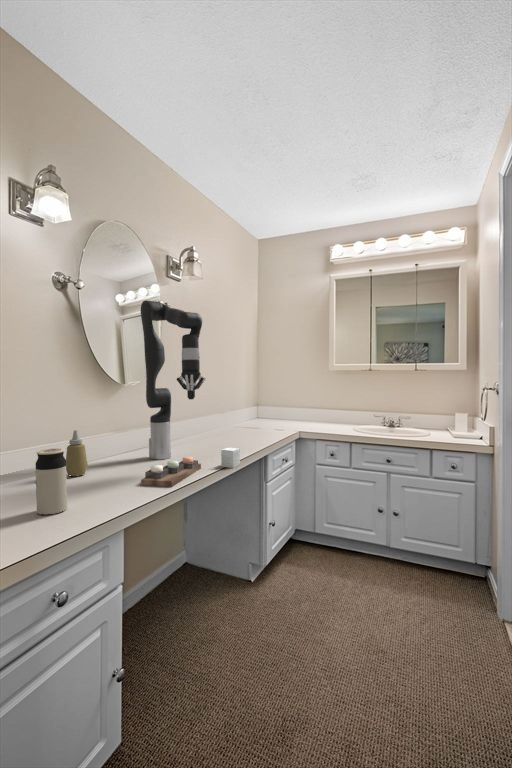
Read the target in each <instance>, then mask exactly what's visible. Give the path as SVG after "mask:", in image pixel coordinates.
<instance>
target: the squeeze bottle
mask: <svg viewBox="0 0 512 768" xmlns="http://www.w3.org/2000/svg"><path fill="white" fill-rule="evenodd" d="M78 432H79V431H78V430H76V429H75V430H73V435H72V438H71V439H69V443H68V444H69V445H67V447H66V452H65V453H66V455H65V459H66V474H67V476H69V475H71V476H77V475H82V476H84V475H85V474H86V473H87V472H86V471H87V468H88V461H87V452H86V451H87V450H86V445H85V444H83V439H82V438H80V436H79V433H78ZM83 474H84V475H83Z"/></svg>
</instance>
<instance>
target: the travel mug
mask: <svg viewBox="0 0 512 768" xmlns="http://www.w3.org/2000/svg"><path fill="white" fill-rule="evenodd" d="M65 451H66V450H65V448H62V447H55V448H52V447H51V448H44V449H40V450H37V451H36V452H35V453H36V455H37V459H36V461H35V489H36V490H35V492H36V494H35V495H36V497H35V498H36V513H37V514H38V513H39V514H38V515H41V514H53V515H56V514H55V513H58V514H60V513H59V512H61V513H63V512H65V511H66V510H67V509H68V485H67V484H68V483H67V482H68V481H67V470H66V457H65V456H64V453H65ZM62 511H63V512H62Z"/></svg>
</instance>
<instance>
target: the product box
mask: <svg viewBox="0 0 512 768" xmlns="http://www.w3.org/2000/svg"><path fill="white" fill-rule="evenodd" d="M240 449H241V448H238V447H225V448H223V449H221V451H220V453H221V458H220V459H221V462H220V463H221V466H220V467H222V468H230V469H231V468H233V469H234V468H236V467H238V466H240V465H241V455H240V451H241V450H240Z"/></svg>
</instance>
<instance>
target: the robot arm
mask: <svg viewBox="0 0 512 768" xmlns="http://www.w3.org/2000/svg"><path fill="white" fill-rule="evenodd" d="M140 304H141V305H140V316H141V324H142V331H143V342H144V343H143V344H144V345H143V346H144V347H143V348H144V362H145V375H146V379H145V380H146V381H145V382H146V383H145V384H146V385H145V387H146V389H145V390H146V391H145V398H146V399H145V401H146V405H147V407H148V408H150V409H158V408H159V411H158V412H156V413H154V414H152V415H151V416H150V420H149V421H150V422H149V425H150V428H149V429H150V438H148V459H152V460H166V459H170V458H171V457H172V452H171V449H172V447H171V446H172V445H171V416H172V394H171V393H172V392H171V391H170V389H169V388H167V387H164V388H163V387H162V388H161V387H160V388H159V387H158V388H157V387H156V382H157V378H158V375H159V373H160V371H161V370H162V368H163V367H164V364H165V361H166V356H165V346H164V344H163V342H162V340H161V339H160V337H159V336H158V334H157V332H156V331H155V328H154V325H153V321H154V322H161V321H166V322H168V323H169V324H172V325H175V326H177V327H178V328H181V329H187V330H188V329H189V330H190V331H189V333H188V334H187V333H186V334H184V335H182V336H181V373H180V376H178V377H176V382H178V383H179V385H180V387H182V389H183V390H186V391H187V394H186V395H187V399H188V400H194V399H195V398H196V390H199V389H200V388H201V387H202V385H203V383H204V382H205V381H206V377H204V376H202V375H201V371H200V370H201V369H200V368H201V367H200V366H201V365H200V347H199V337H200V334H201V330H202V326H203V318H202V316H201V314H199V313H198V312H193V311H192V312H191V311H184V310H182V309H178V308H174V307H170V306H168V305H167V304H164V303H162V302H160V301H156V300H155V301H154V300H148V299H147V300H143V301H142V303H140ZM184 381H185V382H184Z"/></svg>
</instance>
